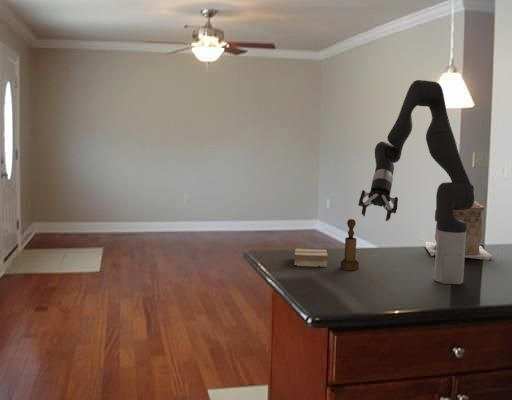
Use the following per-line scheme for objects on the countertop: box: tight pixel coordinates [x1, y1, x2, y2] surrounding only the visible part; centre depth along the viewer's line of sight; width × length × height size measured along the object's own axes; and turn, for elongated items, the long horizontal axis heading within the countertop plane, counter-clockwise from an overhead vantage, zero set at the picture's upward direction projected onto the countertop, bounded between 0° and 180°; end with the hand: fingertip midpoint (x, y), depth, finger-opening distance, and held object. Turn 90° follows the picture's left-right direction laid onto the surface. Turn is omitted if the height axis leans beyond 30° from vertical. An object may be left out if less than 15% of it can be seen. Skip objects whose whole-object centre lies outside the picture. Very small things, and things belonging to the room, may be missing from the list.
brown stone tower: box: [424, 183, 493, 261], centre depth 241 cm, size 25×25×32 cm
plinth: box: [293, 247, 329, 268], centre depth 218 cm, size 12×12×4 cm
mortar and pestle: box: [340, 218, 360, 271], centre depth 209 cm, size 7×6×18 cm
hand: (375, 217), depth 215 cm, fingers open, 8 cm apart
